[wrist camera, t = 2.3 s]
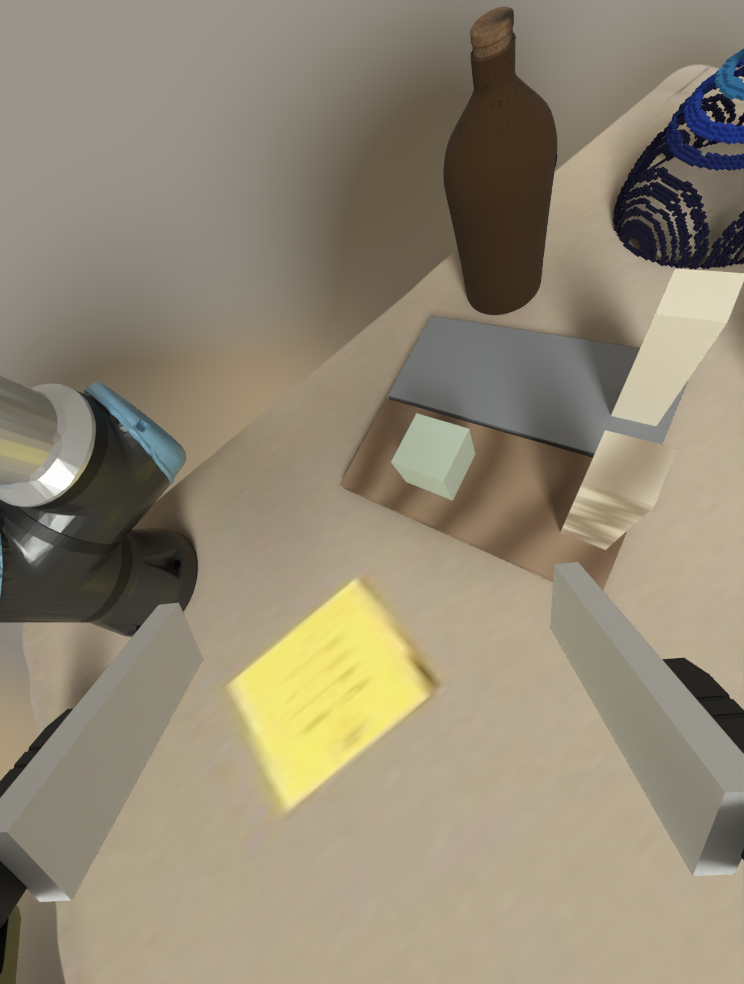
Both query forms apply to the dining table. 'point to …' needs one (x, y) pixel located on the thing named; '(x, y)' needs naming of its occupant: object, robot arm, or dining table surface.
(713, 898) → the dining table surface
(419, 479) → the sage block
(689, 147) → the blue ringed dome
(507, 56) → the olive oil
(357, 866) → the dining table surface
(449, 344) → the gray board with post
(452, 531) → the wooden base with post
